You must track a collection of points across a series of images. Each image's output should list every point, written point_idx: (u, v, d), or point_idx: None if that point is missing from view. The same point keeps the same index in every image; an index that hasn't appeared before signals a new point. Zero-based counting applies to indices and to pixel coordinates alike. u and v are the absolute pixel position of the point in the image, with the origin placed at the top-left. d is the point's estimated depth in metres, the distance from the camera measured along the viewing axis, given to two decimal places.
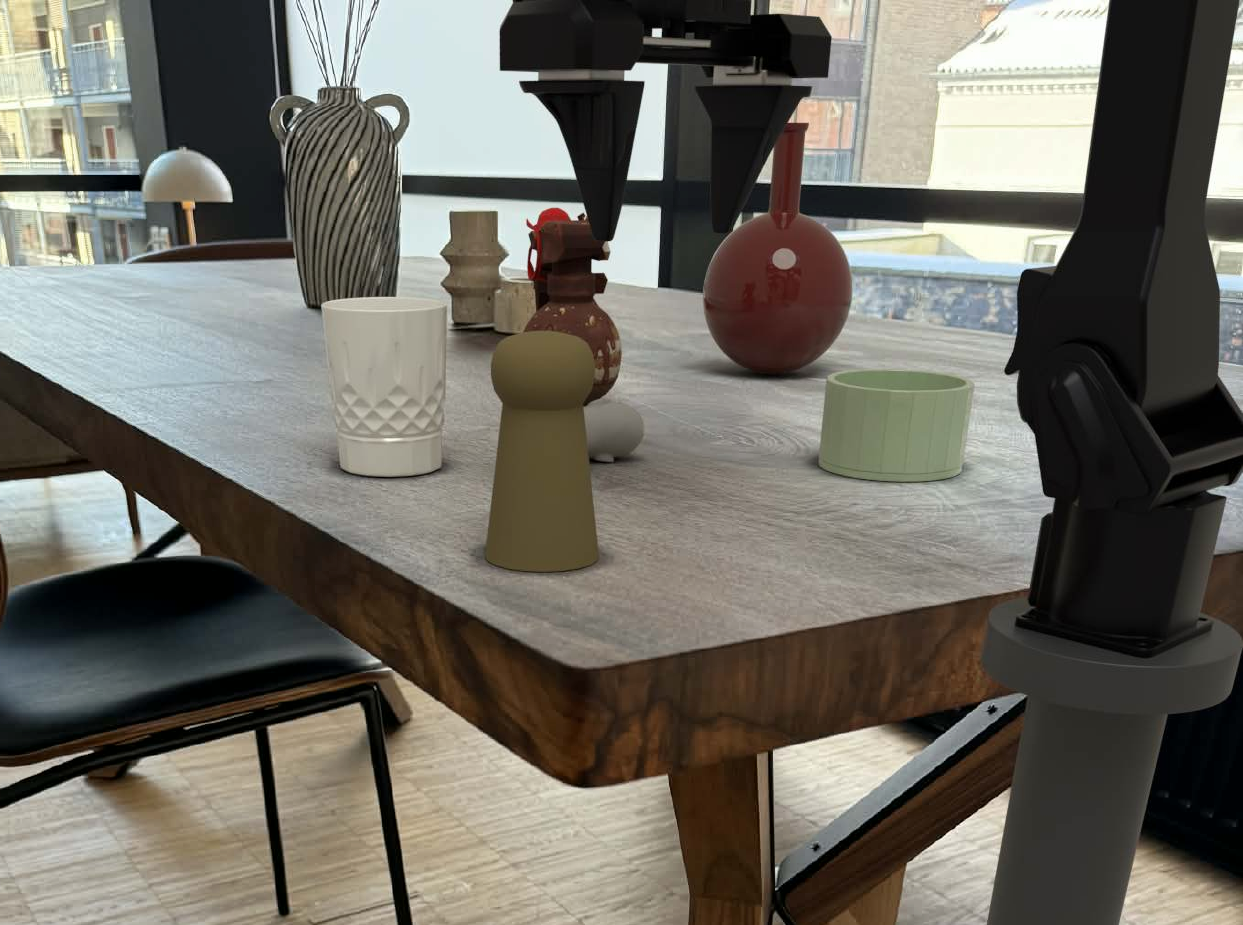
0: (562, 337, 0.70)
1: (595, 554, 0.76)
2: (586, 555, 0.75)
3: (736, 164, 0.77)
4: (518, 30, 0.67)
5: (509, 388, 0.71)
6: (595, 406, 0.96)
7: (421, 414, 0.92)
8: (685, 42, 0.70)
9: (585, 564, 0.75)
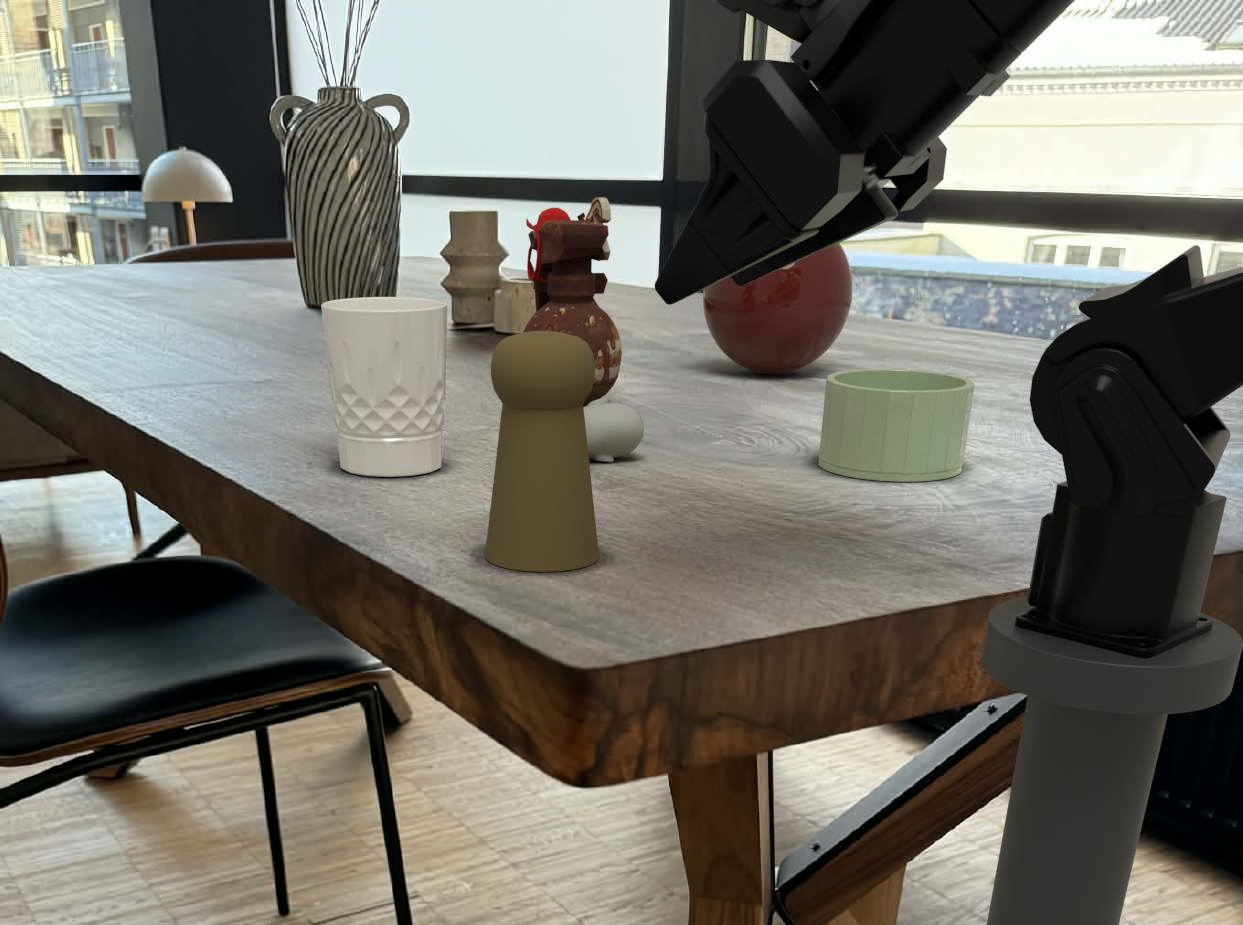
0: (562, 337, 0.70)
1: (595, 554, 0.76)
2: (586, 555, 0.75)
3: None
4: (757, 106, 0.54)
5: (509, 388, 0.71)
6: (595, 406, 0.96)
7: (421, 414, 0.92)
8: None
9: (585, 564, 0.75)
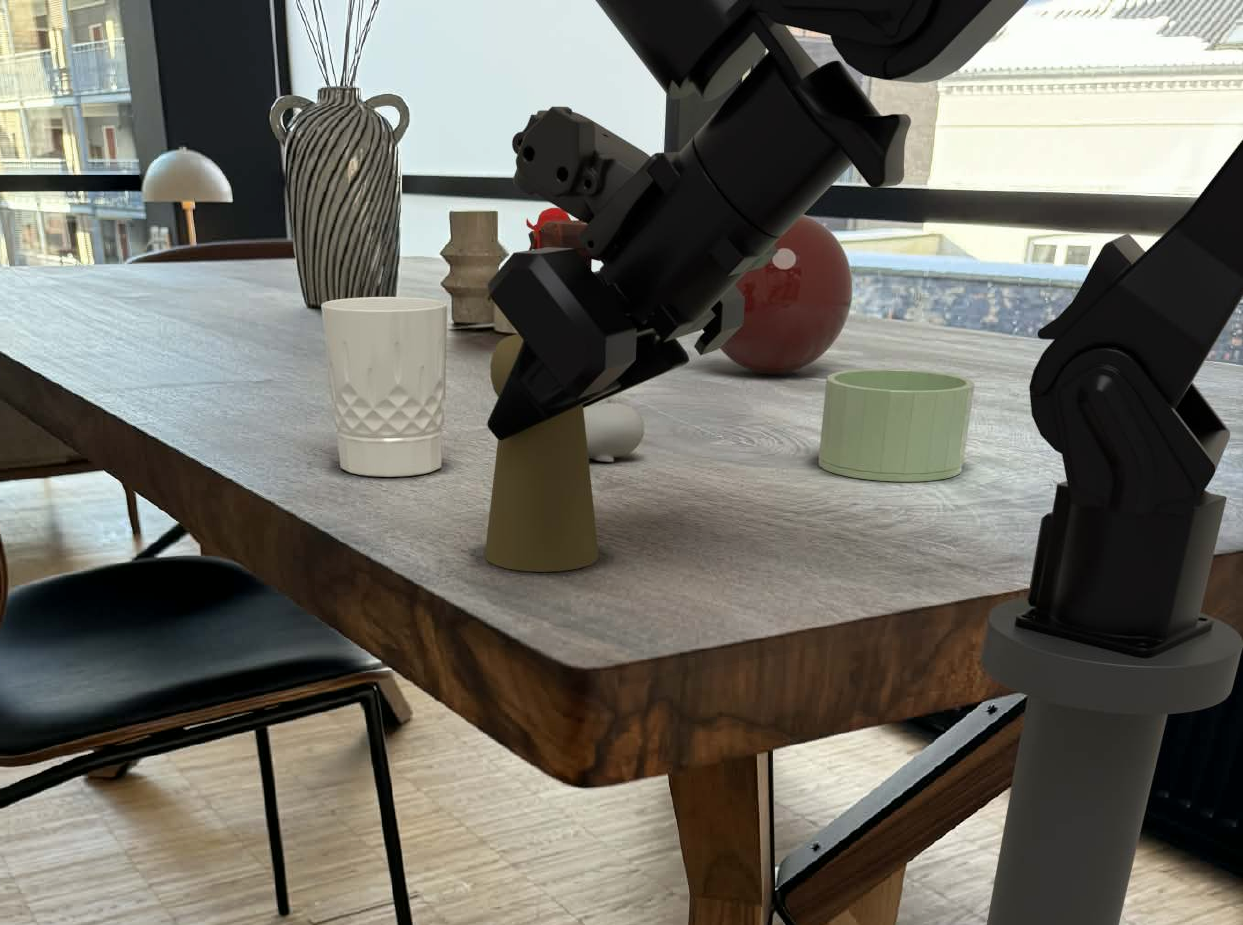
0: None
1: (595, 554, 0.76)
2: (585, 556, 0.75)
3: None
4: (531, 293, 0.61)
5: None
6: (595, 406, 0.96)
7: (421, 414, 0.92)
8: None
9: (585, 564, 0.75)
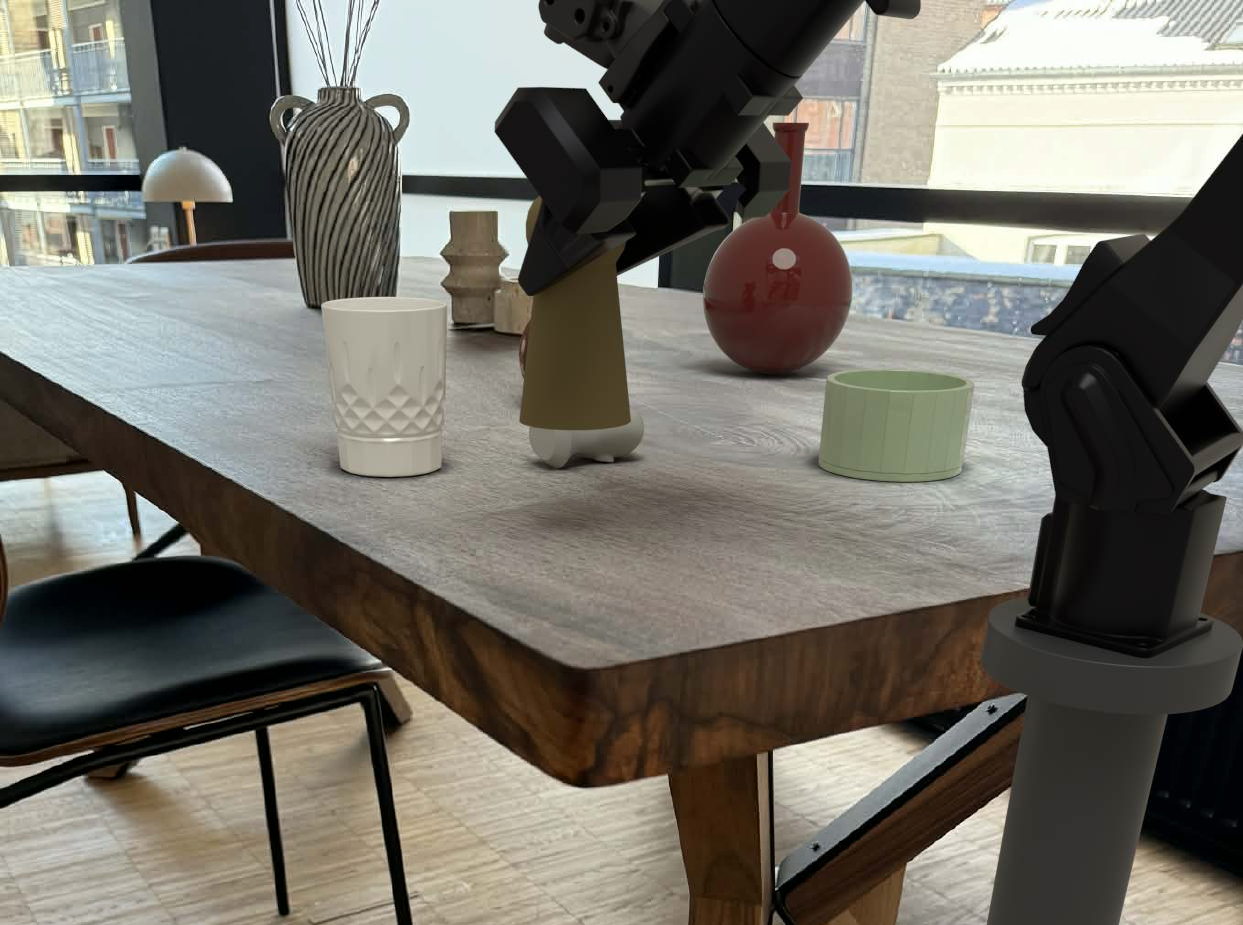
0: None
1: (624, 417, 0.76)
2: (612, 417, 0.76)
3: (629, 244, 0.75)
4: (531, 127, 0.62)
5: None
6: None
7: (421, 414, 0.92)
8: None
9: (611, 425, 0.76)
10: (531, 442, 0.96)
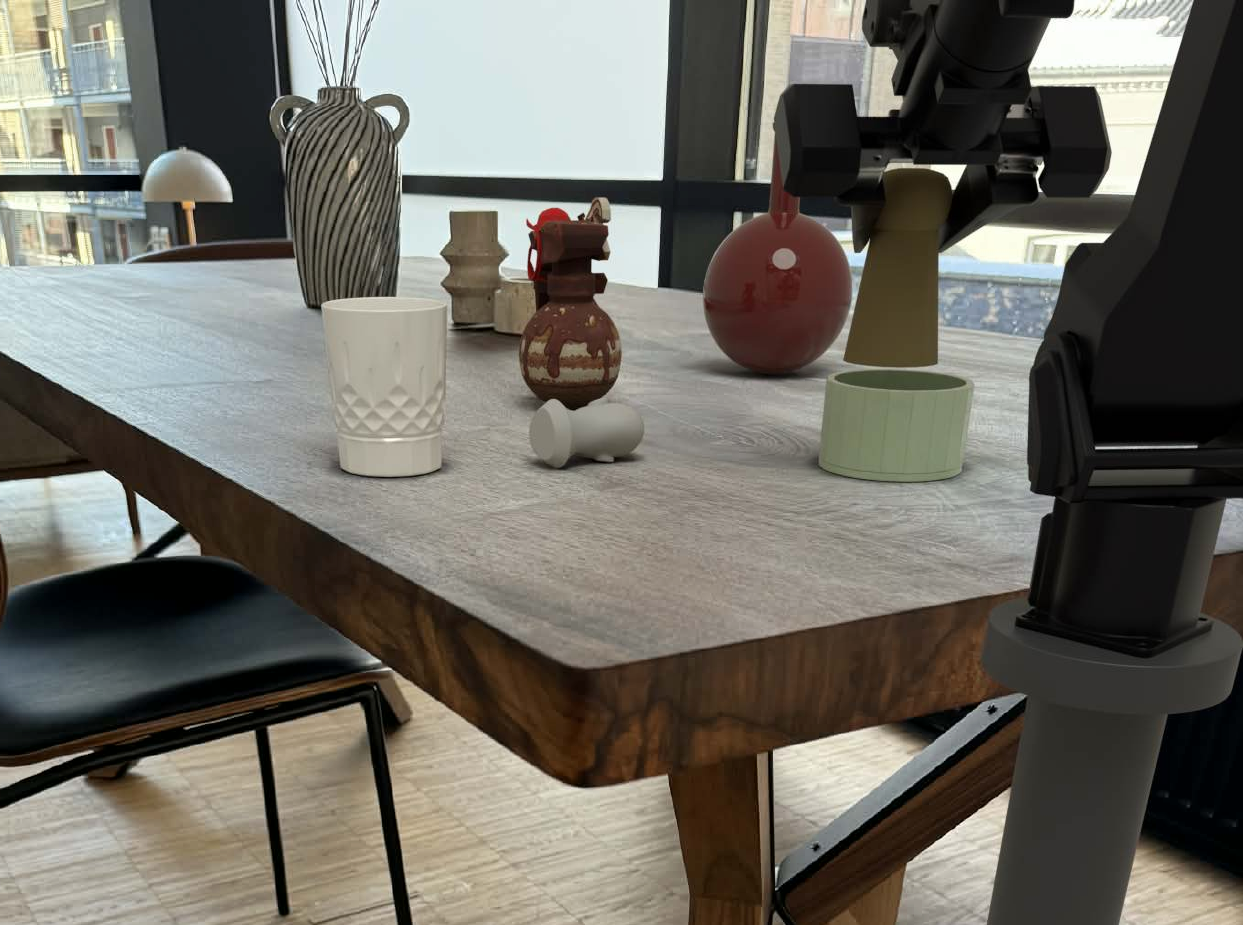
0: (912, 170, 0.87)
1: (911, 361, 0.91)
2: (895, 358, 0.91)
3: (957, 216, 0.88)
4: (782, 114, 0.82)
5: None
6: (595, 406, 0.96)
7: (421, 414, 0.92)
8: None
9: (892, 365, 0.91)
10: (531, 442, 0.96)
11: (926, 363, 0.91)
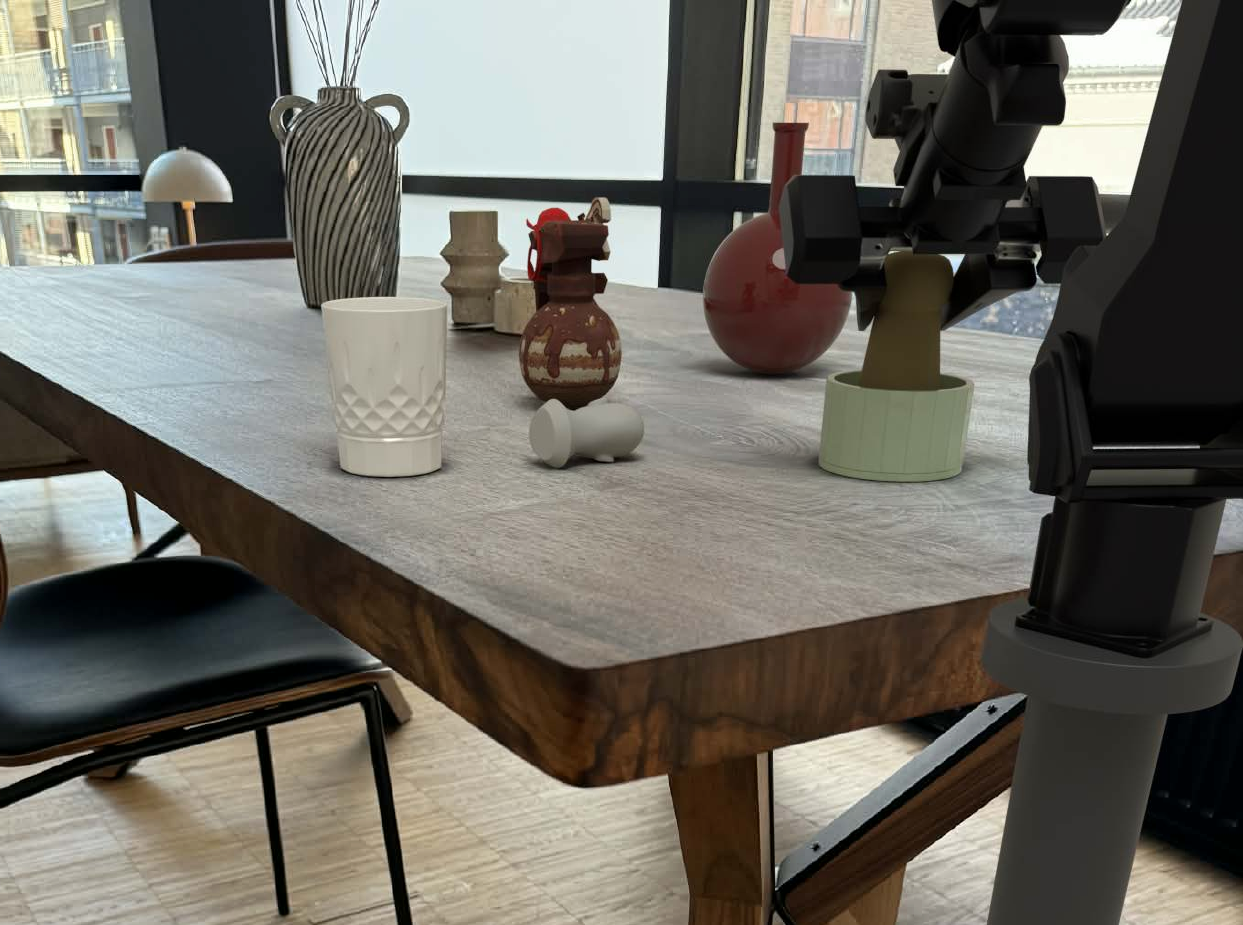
0: (914, 254, 0.89)
1: None
2: None
3: (958, 297, 0.91)
4: (786, 204, 0.85)
5: None
6: (595, 406, 0.96)
7: (421, 414, 0.92)
8: None
9: None
10: (531, 442, 0.96)
11: None
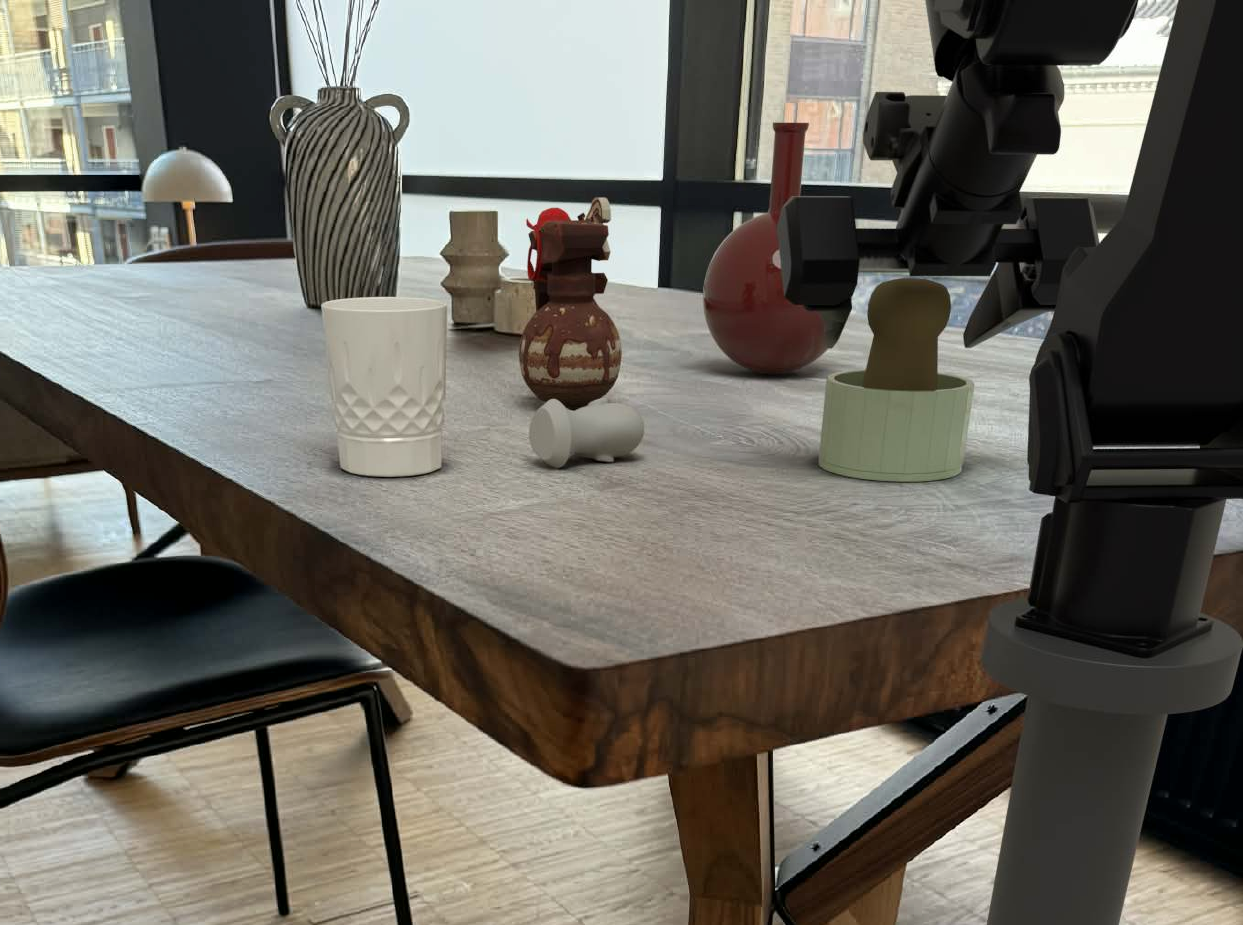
0: (912, 282, 0.90)
1: None
2: None
3: (986, 316, 0.91)
4: (784, 225, 0.86)
5: None
6: (595, 406, 0.96)
7: (421, 414, 0.92)
8: None
9: None
10: (531, 442, 0.96)
11: None
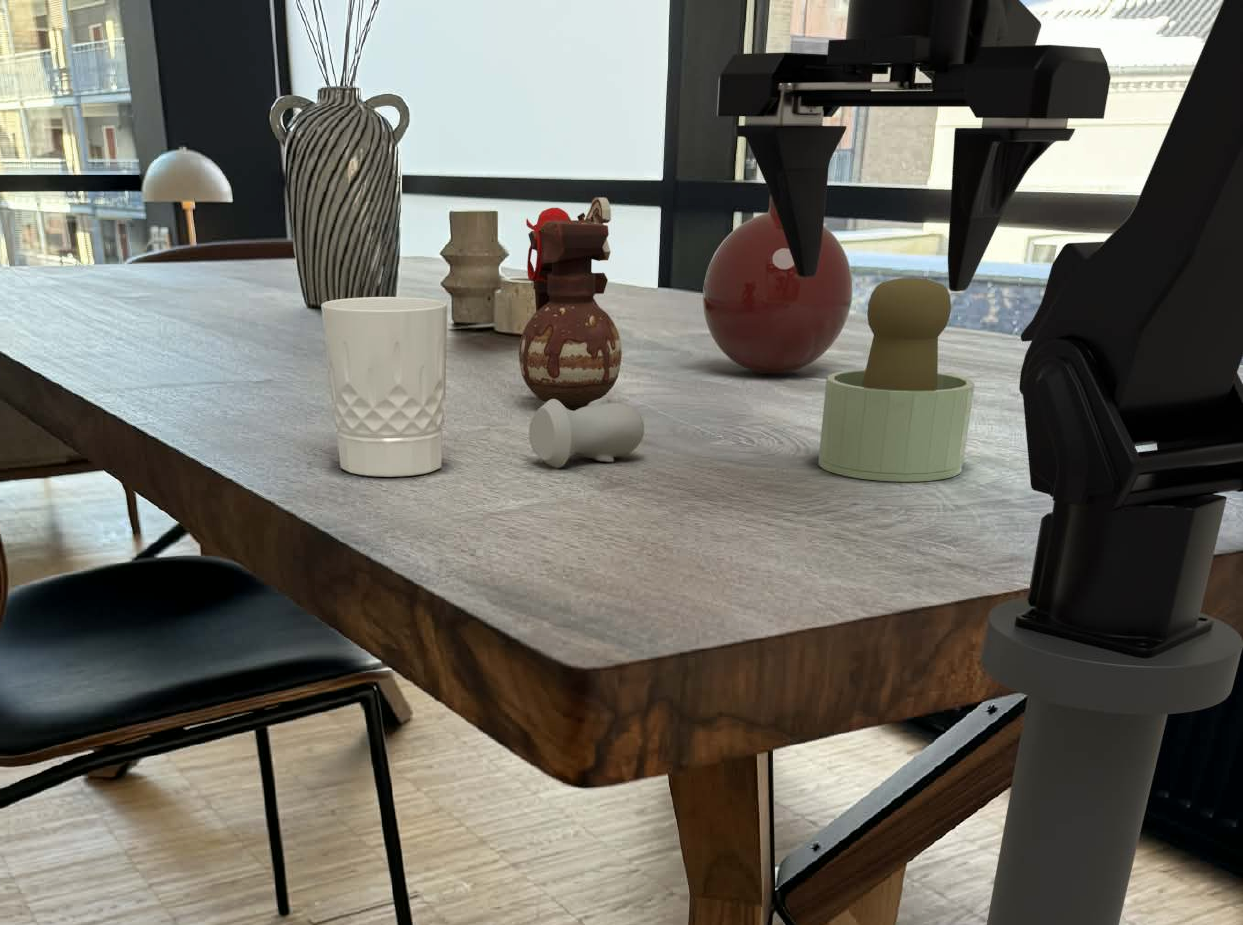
0: (912, 282, 0.90)
1: None
2: None
3: None
4: None
5: None
6: (595, 406, 0.96)
7: (421, 414, 0.92)
8: (861, 85, 0.69)
9: None
10: (531, 442, 0.96)
11: None
